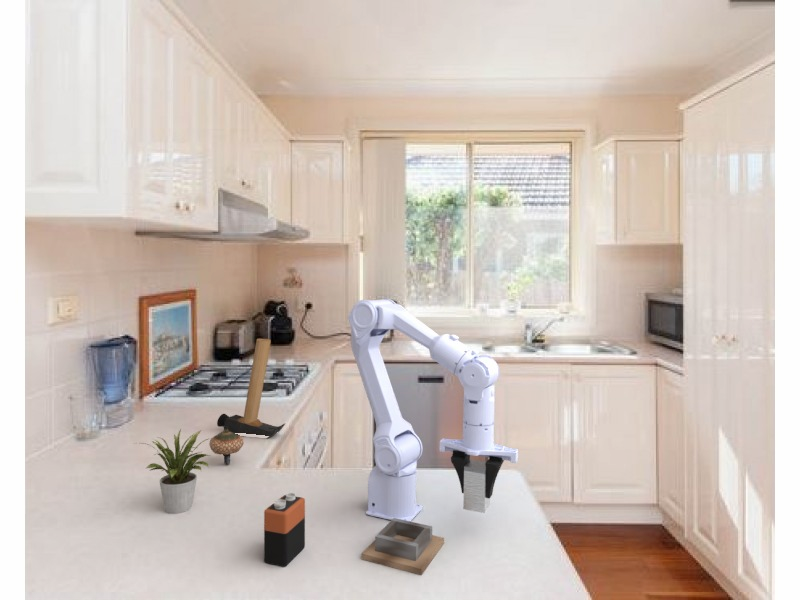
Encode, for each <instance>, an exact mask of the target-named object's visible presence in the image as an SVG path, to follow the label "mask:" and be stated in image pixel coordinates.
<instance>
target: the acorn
mask: <svg viewBox="0 0 800 600" xmlns="http://www.w3.org/2000/svg"><path fill="white" fill-rule="evenodd" d="M209 440H210V441H209V447H210V450H211V451H212V452H213V453H214V454H216V455H222V456H223V463H224V465H225V466H229V465H230V464H231V454H232V455H233V454H236V453H238V452H239V451H240V450H241V449H242V447H243V446H244V444H245V443H244V442H245V441H244V438H243V436H240V435H238V434H235V433H233V432H229V430H228V427H226V430H224V431H222V432H219V433H218V434H216V435H214V436H213V437H211V439H209Z"/></svg>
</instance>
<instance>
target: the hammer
mask: <svg viewBox="0 0 800 600" xmlns="http://www.w3.org/2000/svg"><path fill="white" fill-rule="evenodd" d="M270 348H271V339H269V338H257V339H256V342H255V349H254V354H253V359H252V366H251V371H250V377H249V384H248V388H247V389H248V390H247V395H246V401H245V408H244V412H243V415H239V414H235V415H230V416H229V415H228V414H226V413H221V415H219V417H218V418H217V421H216V425H217V427H218V428H219V427H220V428H221V427H222V428H223V430H224V431H225V430H226V427H228V430H229V432H233V433H246V434H256V435H265V436H270V437H269V438H271V437H272V436H274V435H275V434H278V433H279V432H280V431H281V430H283V428H284V426H285V425H286V423H282V424H281V425H279V426H276V425H273V424H268V423H265V422H263V421H261V420H260V419H258V417H259V411H260V406H261V401H262V395H263V394H262V393H263V388H264V381H265V377H266V371H267V365H268V359H269V352H270ZM277 432H278V433H277Z"/></svg>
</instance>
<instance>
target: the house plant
mask: <svg viewBox="0 0 800 600" xmlns="http://www.w3.org/2000/svg"><path fill="white" fill-rule="evenodd" d="M181 432H182V428H180V429H179V430H178V433H177V436H176V434H173V435H174V436H173V438H174V443H173V444H174V448H175V449H174V451H175V453H174V452H173V451H172V450H171V449H170V447H169V445H168V443H167V441H166V440H165V439H164V438H163V437H162V438H161V437H159V436H157V438H159V439H161V440H162V441H163V442H164V444H165V445H166V447H164V446H163V444H162V443H160V441H159V440H157V439H154V438H152V440H151V442H152V444H154V445H156V447H157V448H158V450H159V451H160V452H161V453H160V452H157V453H155V454H154V456H155V455H158V456H159V457H160V458H161V459H162V460H163V462H164V465H165V467H166V469H165V467H163V466H162V465H160V464H158V463H154V462H153V463H149V464H148V465H147V466H146V467H145V469H149V471H155V470H161V471H160V472H163V471H164V472H166V474H167V475H164V476H162V477H161V478H160V479H159V485H160V486H159V487H160V490H161V496H162V502H163V506H164V507H163V508H164V511H165V513H166V514H173V515H174V514H181V513H185V512H187V511H190V509H192V507H193V502H194V498H195V497H194V496H195V491H196V486H197V479H198V475H197V474H196V473H195V472H191V471H192V470H200V472H203V471H202V467H201V466H200V465H203V466H206V467H207V468H210V467H209V466H210V465H209V464H208V462H206V461H204V460H202V461H199V459H201V458H204V457H210V456H211V455H210V454H206V453H202V451H201V452H200V451H198V452H194V451H195V450H196V449H198V447H199V446H200V445H201V444H203V443H204V442H205V441H209V440H211V438H212V437H211V438H207V439H204V440H202V441H201V442H200V443H198V444H197V445H196V446H195V447H193V446H194V445H195V443H196V441H197V438H198V436H199V434H201V430H199V431H197V432H195V433H193V434H192V435H190V436H189V437H188V438H187V439H186V440H185V442H184V443H183V445H182V446H181V445H180V437H181ZM186 443H187V444H186ZM133 444H136V442H135V443H133ZM140 444H143V445H148V446H149V447H152V448H154V449H155V447H153V446H152V445H150V444H148V443H145V442H140ZM192 449H193V450H192ZM190 452H191V453H190ZM193 452H194V453H193ZM149 471H148V472H149Z"/></svg>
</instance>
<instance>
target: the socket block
mask: <svg viewBox="0 0 800 600" xmlns="http://www.w3.org/2000/svg"><path fill="white" fill-rule="evenodd" d="M444 544H445V537H443V536H437V535H434V534H433V526H432V525H429V524H428V525H427V524H423V523H418V522H413V521H411V522H410V521H406V520H401V519H397V518H393V519H392V520H390V521H389V522H388V523H387V524H386V525H385V526H384V527H383V528H382V529H381V530H380V531H379V532H378V533H377V534H376V535H375V537H374V539H373V541H372V542H371V543H370V544H369V545H368V546H367V547H366V548H365V550H363V551H362V552H361V560H363V561H367V562H369V563H370V562H371V563H375V564H378V565H382V566H387V567H389V568H394V569H397V570H401V571H405V572H408V573H412V574H416V575H420V576H422V575H423V574H424V573H425V572H426V570H427V568H428V567H429V565H430V564H431V563H432V561H433V560H434V559H435V557H436V555H437V554H438V552H439V551H440V550H441V548H442V546H444Z"/></svg>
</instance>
